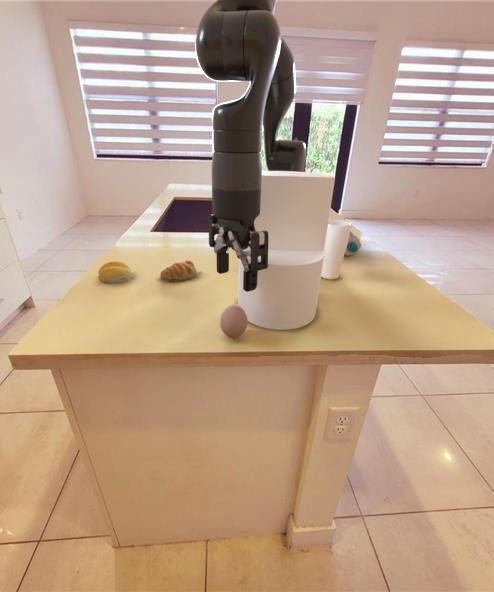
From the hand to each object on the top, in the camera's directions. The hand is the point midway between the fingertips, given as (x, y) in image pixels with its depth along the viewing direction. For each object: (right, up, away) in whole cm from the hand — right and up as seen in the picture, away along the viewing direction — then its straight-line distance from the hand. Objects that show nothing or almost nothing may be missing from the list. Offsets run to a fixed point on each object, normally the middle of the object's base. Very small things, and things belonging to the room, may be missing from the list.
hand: (235, 280), depth 55 cm
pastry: (-15, +2, +30) cm, 33 cm away
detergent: (+36, +14, +54) cm, 67 cm away
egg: (0, -11, +5) cm, 12 cm away
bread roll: (-32, +2, +28) cm, 43 cm away
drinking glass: (+25, +3, +32) cm, 41 cm away
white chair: (+9, -6, +15) cm, 19 cm away
